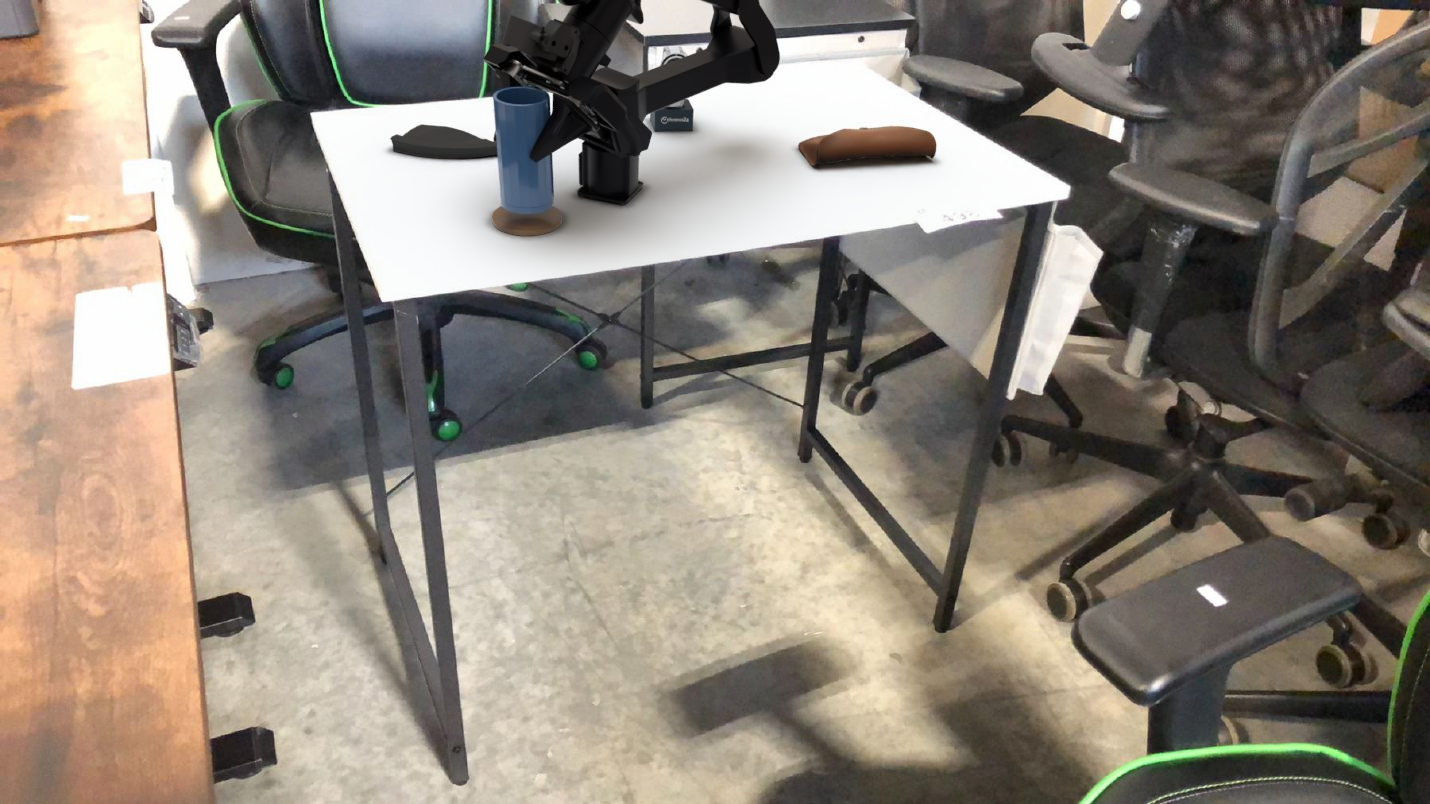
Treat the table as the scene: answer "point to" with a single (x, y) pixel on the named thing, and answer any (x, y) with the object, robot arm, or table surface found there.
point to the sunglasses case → (868, 144)
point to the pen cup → (522, 149)
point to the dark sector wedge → (442, 143)
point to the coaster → (526, 222)
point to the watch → (675, 114)
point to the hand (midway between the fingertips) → (514, 151)
